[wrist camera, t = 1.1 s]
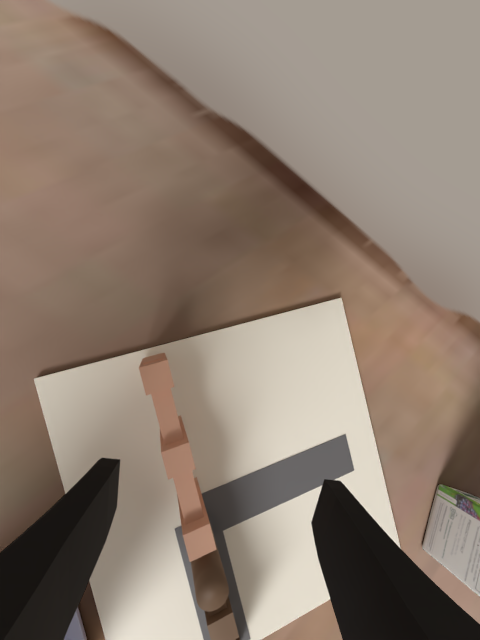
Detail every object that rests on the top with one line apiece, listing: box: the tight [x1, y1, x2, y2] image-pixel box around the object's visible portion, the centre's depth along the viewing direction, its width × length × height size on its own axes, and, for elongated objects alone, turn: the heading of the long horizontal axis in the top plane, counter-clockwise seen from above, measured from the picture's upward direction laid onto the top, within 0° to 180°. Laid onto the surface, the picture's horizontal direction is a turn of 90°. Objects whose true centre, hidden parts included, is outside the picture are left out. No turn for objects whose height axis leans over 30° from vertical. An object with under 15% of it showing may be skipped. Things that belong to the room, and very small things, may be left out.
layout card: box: [34, 298, 401, 640], centre depth 22 cm, size 22×22×1 cm
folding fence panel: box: [139, 353, 217, 562], centre depth 17 cm, size 10×1×5 cm, turn 14°
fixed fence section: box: [191, 513, 240, 640], centre depth 18 cm, size 2×11×6 cm, turn 14°
